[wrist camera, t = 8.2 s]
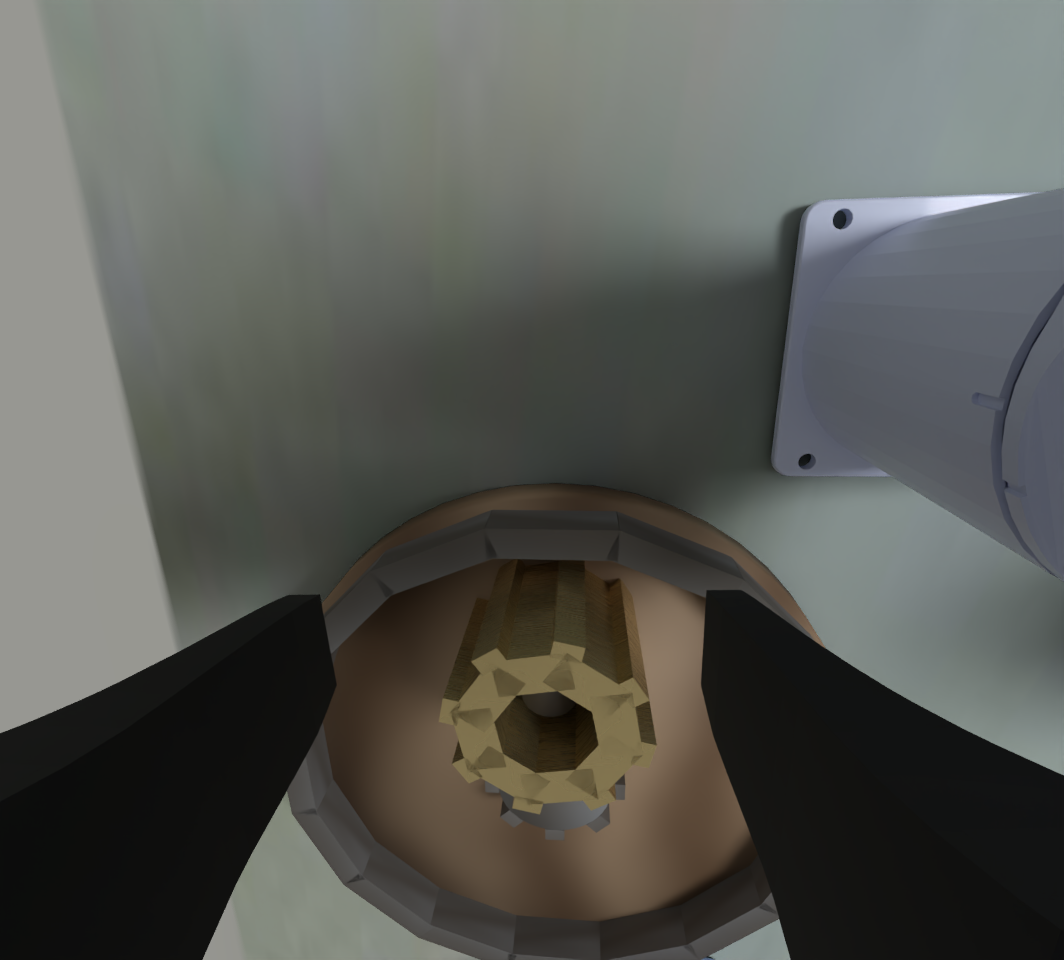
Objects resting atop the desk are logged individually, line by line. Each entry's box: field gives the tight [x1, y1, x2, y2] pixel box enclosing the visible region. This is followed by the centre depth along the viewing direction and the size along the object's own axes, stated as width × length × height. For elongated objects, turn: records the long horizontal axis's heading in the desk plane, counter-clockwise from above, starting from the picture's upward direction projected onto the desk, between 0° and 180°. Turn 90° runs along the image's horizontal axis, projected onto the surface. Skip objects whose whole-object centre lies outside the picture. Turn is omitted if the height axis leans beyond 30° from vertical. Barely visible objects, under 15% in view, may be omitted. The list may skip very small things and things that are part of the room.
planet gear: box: [439, 559, 657, 814], centre depth 17 cm, size 6×6×5 cm
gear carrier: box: [287, 483, 825, 960], centre depth 20 cm, size 21×21×5 cm
